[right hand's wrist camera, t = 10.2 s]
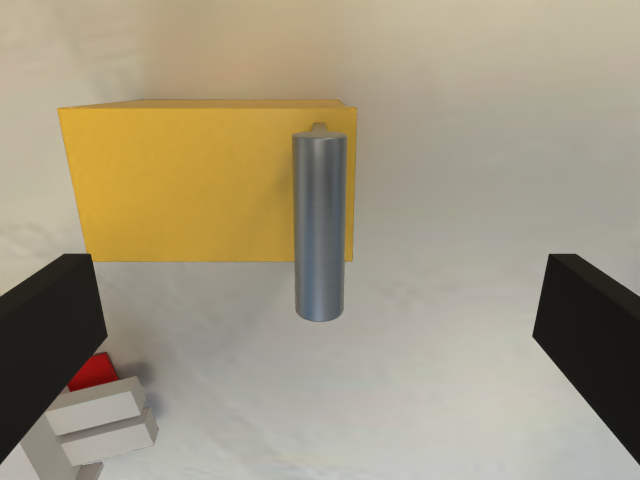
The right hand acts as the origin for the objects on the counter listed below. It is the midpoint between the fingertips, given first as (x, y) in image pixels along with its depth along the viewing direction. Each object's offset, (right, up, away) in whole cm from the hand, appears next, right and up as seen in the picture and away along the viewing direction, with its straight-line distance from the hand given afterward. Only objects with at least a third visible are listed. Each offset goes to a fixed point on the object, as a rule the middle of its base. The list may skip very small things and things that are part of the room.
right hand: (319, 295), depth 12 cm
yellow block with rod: (-6, +5, +13) cm, 15 cm away
